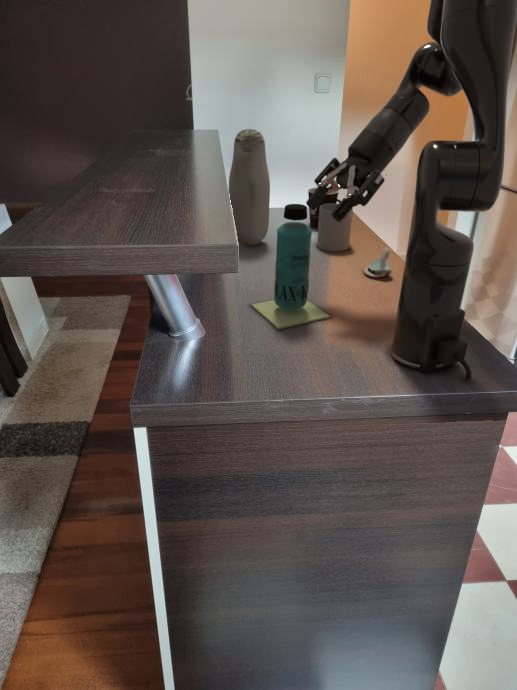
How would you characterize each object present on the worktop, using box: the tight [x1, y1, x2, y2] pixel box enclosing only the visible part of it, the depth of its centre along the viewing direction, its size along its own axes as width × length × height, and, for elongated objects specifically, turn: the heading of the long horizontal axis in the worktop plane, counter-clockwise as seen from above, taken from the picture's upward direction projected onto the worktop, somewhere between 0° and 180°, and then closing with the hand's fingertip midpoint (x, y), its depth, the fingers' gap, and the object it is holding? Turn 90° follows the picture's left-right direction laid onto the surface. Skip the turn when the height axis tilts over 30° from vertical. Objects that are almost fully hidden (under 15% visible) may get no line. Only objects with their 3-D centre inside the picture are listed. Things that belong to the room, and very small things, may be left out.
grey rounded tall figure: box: [228, 128, 271, 246], centre depth 128 cm, size 10×10×28 cm
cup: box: [316, 203, 354, 252], centre depth 132 cm, size 8×8×10 cm
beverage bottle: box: [273, 203, 313, 309], centre depth 94 cm, size 6×7×20 cm
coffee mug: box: [307, 187, 342, 229], centre depth 147 cm, size 12×9×10 cm
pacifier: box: [363, 246, 393, 278], centre depth 115 cm, size 7×6×6 cm
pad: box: [251, 299, 330, 330], centre depth 99 cm, size 11×11×1 cm
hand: (321, 212), depth 94 cm, fingers open, 8 cm apart
